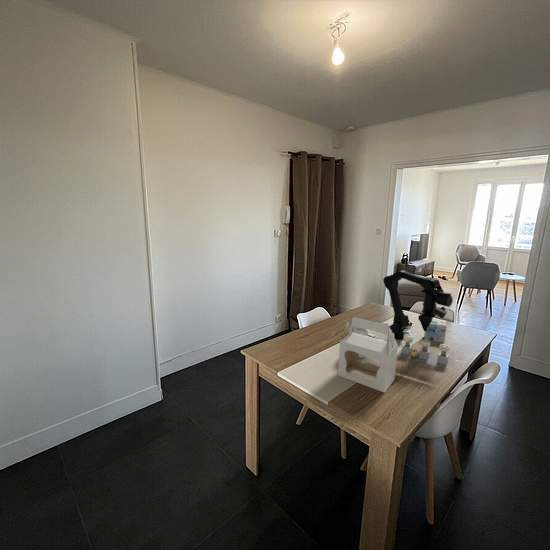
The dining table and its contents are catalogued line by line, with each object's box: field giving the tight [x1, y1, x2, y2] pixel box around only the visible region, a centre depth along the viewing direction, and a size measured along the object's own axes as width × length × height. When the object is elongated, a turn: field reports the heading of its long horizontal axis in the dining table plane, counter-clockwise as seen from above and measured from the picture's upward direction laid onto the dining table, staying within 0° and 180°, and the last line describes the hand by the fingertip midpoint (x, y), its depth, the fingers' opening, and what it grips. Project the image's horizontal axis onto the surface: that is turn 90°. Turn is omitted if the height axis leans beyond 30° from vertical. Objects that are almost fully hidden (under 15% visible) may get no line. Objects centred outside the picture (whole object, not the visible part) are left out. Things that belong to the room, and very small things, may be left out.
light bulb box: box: [423, 320, 447, 343], centre depth 178 cm, size 11×7×11 cm, turn 68°
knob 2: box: [438, 343, 451, 357], centre depth 147 cm, size 4×4×6 cm
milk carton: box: [353, 326, 369, 359], centre depth 157 cm, size 7×7×19 cm
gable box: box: [337, 316, 399, 394], centre depth 134 cm, size 22×13×28 cm, turn 51°
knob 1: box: [403, 335, 414, 347], centre depth 158 cm, size 4×4×6 cm
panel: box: [397, 343, 453, 371], centre depth 153 cm, size 24×13×5 cm, turn 53°
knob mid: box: [420, 339, 431, 352], centre depth 153 cm, size 4×4×6 cm
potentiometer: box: [410, 349, 418, 360], centre depth 153 cm, size 3×3×4 cm
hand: (426, 328), depth 162 cm, fingers open, 8 cm apart
